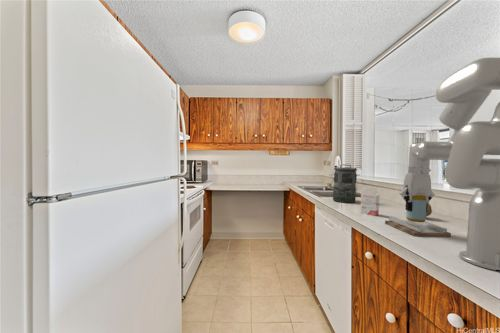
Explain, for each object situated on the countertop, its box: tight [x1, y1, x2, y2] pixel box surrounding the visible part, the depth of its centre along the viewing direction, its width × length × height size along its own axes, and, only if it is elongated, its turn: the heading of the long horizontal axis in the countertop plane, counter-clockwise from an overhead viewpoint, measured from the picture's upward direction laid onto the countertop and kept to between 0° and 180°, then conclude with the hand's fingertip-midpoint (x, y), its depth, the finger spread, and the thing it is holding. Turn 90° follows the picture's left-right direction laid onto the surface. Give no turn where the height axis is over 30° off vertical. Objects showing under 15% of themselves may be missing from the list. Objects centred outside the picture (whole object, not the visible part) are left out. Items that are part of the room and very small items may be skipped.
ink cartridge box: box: [360, 188, 380, 217], centre depth 130 cm, size 9×5×15 cm, turn 42°
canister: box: [332, 164, 358, 204], centre depth 170 cm, size 16×16×28 cm
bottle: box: [405, 188, 427, 222], centre depth 101 cm, size 7×7×15 cm
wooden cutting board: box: [388, 216, 448, 233], centre depth 101 cm, size 18×12×2 cm
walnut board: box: [384, 220, 452, 238], centre depth 101 cm, size 18×16×2 cm
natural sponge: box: [426, 202, 433, 218], centre depth 125 cm, size 9×9×10 cm
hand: (416, 210), depth 101 cm, fingers closed on bottle, 6 cm apart
